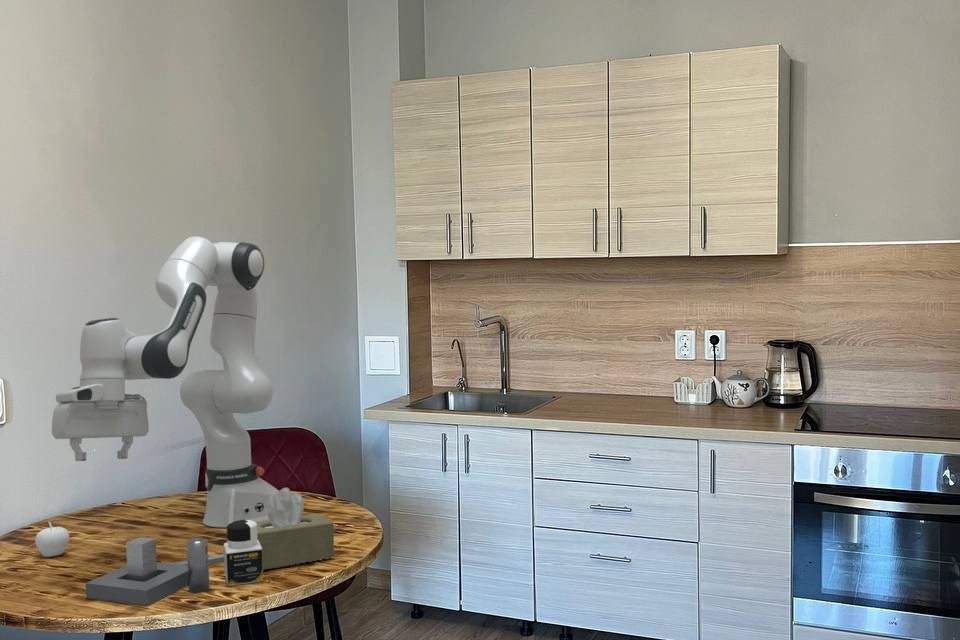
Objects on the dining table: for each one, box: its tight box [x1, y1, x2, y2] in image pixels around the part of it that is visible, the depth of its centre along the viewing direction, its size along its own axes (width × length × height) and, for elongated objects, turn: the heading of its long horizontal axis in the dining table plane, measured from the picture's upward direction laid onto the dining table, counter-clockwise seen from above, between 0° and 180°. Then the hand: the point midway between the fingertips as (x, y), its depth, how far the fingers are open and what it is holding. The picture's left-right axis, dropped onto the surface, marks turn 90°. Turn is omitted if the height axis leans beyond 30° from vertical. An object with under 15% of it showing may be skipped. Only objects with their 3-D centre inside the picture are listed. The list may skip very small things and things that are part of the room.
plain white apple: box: [34, 520, 70, 558], centre depth 208 cm, size 7×7×8 cm
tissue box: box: [256, 487, 335, 571], centre depth 199 cm, size 19×10×16 cm, turn 119°
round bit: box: [186, 537, 210, 594], centre depth 182 cm, size 4×4×10 cm
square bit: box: [125, 536, 158, 582], centre depth 183 cm, size 4×4×10 cm
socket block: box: [85, 561, 189, 607], centre depth 183 cm, size 15×15×3 cm
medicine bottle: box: [223, 520, 264, 587], centre depth 188 cm, size 7×7×12 cm
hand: (102, 459), depth 190 cm, fingers open, 8 cm apart
